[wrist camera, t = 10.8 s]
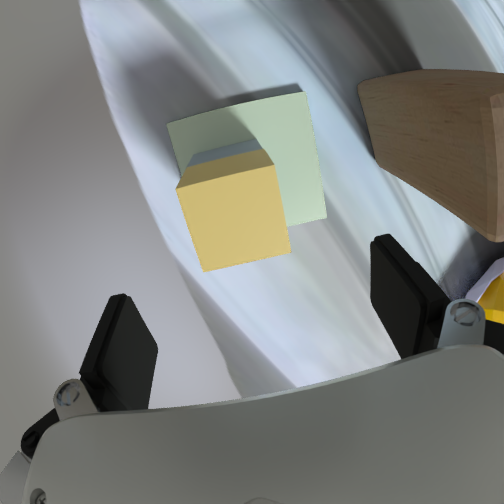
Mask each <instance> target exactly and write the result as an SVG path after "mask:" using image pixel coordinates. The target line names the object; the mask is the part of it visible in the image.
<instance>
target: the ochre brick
mask: <svg viewBox="0 0 504 504" xmlns="http://www.w3.org/2000/svg"><path fill="white" fill-rule="evenodd" d="M176 192H177V195H178V199H179V202H180V205H181V208H182V211H183V214H184V217H185V220H186V223H187V226H188V229H189V232H190V235H191V238H192V241H193V244H194V247H195V250H196V253H197V256H198V259H199V261H200V264H201V267H202V270H203V272H207V271H212V270H216V269H221V268H225V267H230V266H234V265H239V264H243V263H248V262H252V261H256V260H261V259H265V258H270V257H274V256H278V255H283V254H287V253H291V248H290V242H289V237H288V231H287V226H286V220H285V215H284V210H283V204H282V199H281V194H280V189H279V184H278V179H277V174H276V169H275V165H274V163H273V162H272V160H271V158H270V157H269V155H268V154H267V152H266V151H265V149H259V150H255V151H250V152H246V153H241V154H237V155H233V156H229V157H225V158H221V159H216V160H213V161H209V162H205V163H201V164H197V165H193V166H190V167H187V168H186V170H185V172H184V174H183V176H182V177H181V179H180V181H179V183H178V185H177V187H176Z"/></svg>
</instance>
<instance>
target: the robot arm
mask: <svg viewBox="0 0 504 504" xmlns="http://www.w3.org/2000/svg"><path fill="white" fill-rule="evenodd" d="M370 253H371V291H370V298H371V303H372V306H373V308H374V309H375V311H376V313H377V315H378V316H379V318H380V320H381V322H382V324H383V325H384V327H385V329H386V331H387V333H388V335H389V336H390V338H391V340H392V342H393V344H394V346H395V348H396V350H397V351H398V353H399V355H400V357H401V360H398V361H395V362H392V363H388V364H385V365H382V366H378V367H375V368H372V369H368V370H365V371H361V372H358V373H354V374H351V375H347V376H344V377H340V378H336V379H332V380H328V381H324V382H320V383H316V384H312V385H308V386H303V387H299V388H294V389H290V390H285V391H280V392H275V393H270V394H265V395H259V396H254V397H248V398H242V399H236V400H229V401H222V402H215V403H207V404H199V405H191V406H181V407H171V408H159V409H148V404H149V398H150V393H151V387H152V381H153V376H154V370H155V365H156V359H157V354H158V347H157V343H156V342H155V340H154V338H153V336H152V335H151V333H150V331H149V329H148V328H147V326H146V324H145V322H144V321H143V319H142V317H141V315H140V313H139V311H138V310H137V308H136V306H135V304H134V302H133V301H132V298H131V297H130V296H127V295H126V294H118V295H113V296H111V297H110V298H109V301H108V303H107V305H106V307H105V310H104V312H103V314H102V316H101V319H100V321H99V323H98V326H97V328H96V331H95V333H94V335H93V338H92V340H91V343H90V345H89V348H88V350H87V353H86V356H85V358H84V361H83V363H82V366H81V369H80V371H79V373H80V375H81V378H80V380H78V379H70V380H67V381H65V382H63V383H62V384H61V385H60V386H59V387H58V389H57V390H56V392H55V394H54V398H53V402H54V406H55V408H54V409H53V410H51V411H50V412H49V413H48V414H46V415H45V416H44V417H43V418H41V419H40V420H39V421H37V422H36V423H35V424H34V425H32V426H31V427H30V428H29V429H28V430H27V431H26V432H25V433H24V435H23V437H22V440H21V449H22V452H20V451H17V452H16V453H15V455H14V456H13V457H12V459H11V460H10V462H9V463H8V464H7V466H6V467H5V468H4V470H3V471H2V472H1V474H0V501H1V502H2V504H504V324H502V323H498V322H494V321H491V320H487V319H486V316H485V311H484V310H483V308H482V307H481V306H480V305H479V304H478V303H476V302H475V301H473V300H469V299H456V300H454V301H452V302H451V300H450V299H449V298H448V297H447V295H446V294H445V293H444V292H443V291H442V289H441V288H440V287H439V286H438V285H437V284H436V282H435V281H434V280H433V279H432V278H431V276H430V275H429V274H428V273H427V272H426V271H425V270H424V268H423V267H422V266H421V265H420V264H419V263H418V262H415V261H414V259H413V258H412V257H411V256H410V255H409V254H408V253H407V252H406V251H405V250H404V248H403V247H402V246H401V245H400V244H399V243H398V242H397V241H396V240H395V239H394V238H393V237H392V236H391V235H390V234H384V235H380V236H376V237H375V238H374V241H372V242H371V244H370Z"/></svg>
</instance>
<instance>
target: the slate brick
mask: <svg viewBox="0 0 504 504" xmlns="http://www.w3.org/2000/svg"><path fill="white" fill-rule="evenodd" d="M259 149H263V148H262V147H261V145H260V144H259V142H258V140H257V139H252V140H248V141H244V142H239V143H235V144H231V145H227V146H223V147H219V148H215V149H211V150H208V151H204V152H200V153H197V154H193V156H192V158H191V160H190V162H189V163H188V165H187V167H190V166H193V165H197V164H201V163H205V162H209V161H213V160H216V159H221V158H225V157H229V156H233V155H237V154H241V153H246V152H250V151H255V150H259ZM187 167H186V168H187Z"/></svg>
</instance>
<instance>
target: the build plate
mask: <svg viewBox="0 0 504 504" xmlns="http://www.w3.org/2000/svg"><path fill="white" fill-rule="evenodd" d="M166 125H167V129H168V132H169V136H170V139H171V143H172V146H173V149H174V153H175V156H176V159H177V163H178V166H179V169H180V173H181V176H183V174H184V172H185V170H186V167H187V165H188V163H189V162H190V160H191V158H192V156H193V154H197V153H200V152H204V151H208V150H211V149H215V148H219V147H223V146H227V145H231V144H235V143H239V142H244V141H248V140H252V139H257V140H258V142H259V144H260V145H261V147H262V148H263V149H265V151H266V152H267V154H268V155H269V157H270V158H271V160H272V162H273V163H274V165H275V169H276V174H277V179H278V184H279V189H280V194H281V199H282V204H283V210H284V215H285V220H286V226H287V227H288V226H292V225H297V224H301V223H306V222H310V221H314V220H319V219H323V218H327V215H326V207H325V200H324V193H323V186H322V179H321V173H320V166H319V160H318V154H317V148H316V142H315V137H314V131H313V126H312V120H311V115H310V110H309V105H308V100H307V95H306V91H303V92H296V93H290V94H285V95H279V96H274V97H269V98H264V99H259V100H254V101H249V102H245V103H240V104H236V105H232V106H227V107H223V108H219V109H215V110H212V111H208V112H204V113H200V114H197V115H193V116H190V117H186V118H183V119H180V120H176V121H173V122H170V123H167V124H166Z"/></svg>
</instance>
